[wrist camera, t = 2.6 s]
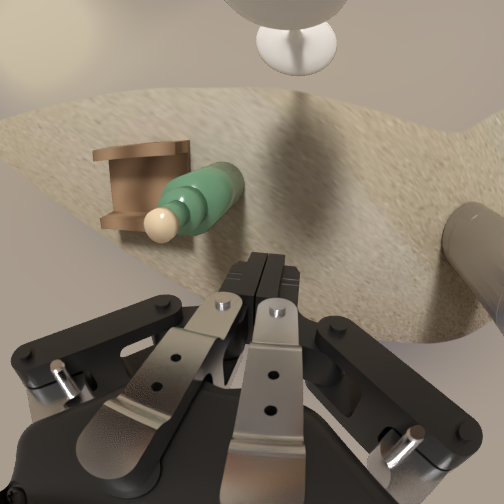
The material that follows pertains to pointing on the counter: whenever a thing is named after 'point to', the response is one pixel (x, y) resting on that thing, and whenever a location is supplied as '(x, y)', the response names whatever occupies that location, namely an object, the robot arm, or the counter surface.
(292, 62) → the wineglass
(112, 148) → the brown wooden u-shaped block
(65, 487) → the robot arm
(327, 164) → the counter surface
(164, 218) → the bottle
